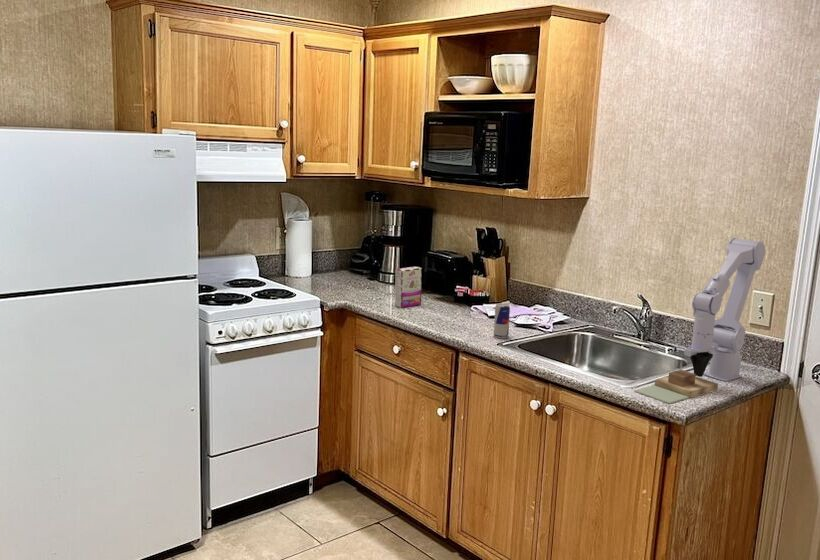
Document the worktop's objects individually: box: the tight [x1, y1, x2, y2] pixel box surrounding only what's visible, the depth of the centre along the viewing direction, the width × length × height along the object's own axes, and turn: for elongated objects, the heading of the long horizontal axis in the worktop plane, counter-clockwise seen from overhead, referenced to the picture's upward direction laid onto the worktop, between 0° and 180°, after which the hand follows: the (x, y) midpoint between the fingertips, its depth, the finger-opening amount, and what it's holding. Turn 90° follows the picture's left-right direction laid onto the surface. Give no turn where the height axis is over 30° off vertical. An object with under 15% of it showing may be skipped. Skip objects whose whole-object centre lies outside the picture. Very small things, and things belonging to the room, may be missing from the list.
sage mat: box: [633, 384, 690, 405], centre depth 217 cm, size 9×12×1 cm
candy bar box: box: [394, 266, 423, 309], centre depth 319 cm, size 11×5×16 cm, turn 129°
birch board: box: [654, 375, 719, 399], centre depth 224 cm, size 14×12×2 cm
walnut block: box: [667, 369, 697, 387], centre depth 222 cm, size 6×5×3 cm
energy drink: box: [493, 303, 511, 340], centre depth 274 cm, size 5×5×12 cm
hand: (698, 375), depth 227 cm, fingers closed
